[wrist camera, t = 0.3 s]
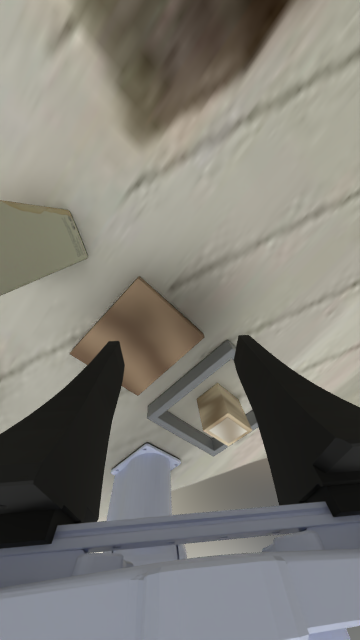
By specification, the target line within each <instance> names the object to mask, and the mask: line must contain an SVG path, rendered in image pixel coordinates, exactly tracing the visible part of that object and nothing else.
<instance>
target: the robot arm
mask: <svg viewBox="0 0 360 640" xmlns="http://www.w3.org/2000/svg"><path fill="white" fill-rule="evenodd" d="M234 363H235V366H236V370H237V373H238V376H239V379H240V381H241V383H242V386H243V388H244V391H245V393H246V395H247V397H248V400H249V402H250V404H251V407H252V409H253V412H254V415H255V417H256V421H257V424H258V427H259V430H260V433H261V437H262V440H263V444H264V447H265V450H266V454H267V458H268V461H269V465H270V469H271V473H272V477H273V481H274V485H275V489H276V493H277V498H278V502H279V506H269V507H258V508H247V509H235V510H225V511H213V512H203V513H191V514H180V515H172V501H171V474H170V471H171V470H172V469H174V468H175V467H177V466H178V465H180V464H181V460H179V459H177V458H175V457H173V456H171V455H170V454H168V453H166V452H164V451H162V450H160V449H158V448H156V447H154V446H152V445H150V444H145V445H143V446H142V447H141V448H140V449H138V450H137V451H136V452H134V453H133V454H132V455H130V456H129V457H128V458H127V459H125V460H124V461H123V462H121V463H120V464H119V465H117V466H116V467H115V468H114V469H112V470H111V474H112V475H115V478H114V483H113V489H112V494H111V499H110V504H109V510H108V515H107V521H102V522H97V521H98V518H99V508H100V499H101V491H102V483H103V475H104V468H105V461H106V454H107V447H108V441H109V435H110V429H111V424H112V420H113V415H114V412H115V408H116V404H117V401H118V397H119V393H120V390H121V386H122V382H123V376H124V368H125V364H124V359H123V355H122V351H121V346H120V342H119V341H109V342H108V343H107V344H106V345H105V346H104V347H103V348H102V350H101V351H100V352H99V353H98V354H97V355H96V356H95V358H94V359H93V360H92V361H91V362H90V363H89V364H88V365H87V366H86V367H85V368H84V369H83V370H82V371H81V372H80V373H79V374H78V375H77V376H76V377H75V378H74V379H73V380H72V381H71V382H70V383H69V384H68V385H67V386H66V387H65V388H64V389H62V390H61V391H60V392H59V393H58V394H57V395H55V396H54V397H53V398H52V399H50V400H49V401H48V402H46V403H45V404H44V405H42V406H41V407H40V408H38V409H37V410H36V411H34V412H33V413H32V414H30V415H29V416H27V417H26V418H24V419H23V420H21V421H20V422H18V423H17V424H15V425H14V426H12V427H11V428H9V429H8V430H6V431H5V432H3V433H1V434H0V640H351V639H350V637H349V634H348V632H347V629H346V628H348V627H353V626H360V407H358V406H356V405H354V404H352V403H349V402H347V401H345V400H343V399H341V398H339V397H337V396H335V395H333V394H331V393H330V392H328V391H326V390H324V389H322V388H321V387H319V386H317V385H315V384H314V383H312V382H310V381H309V380H307V379H306V378H304V377H302V376H301V375H299V374H298V373H296V372H295V371H293V370H292V369H290V368H289V367H288V366H286V365H285V364H284V363H282V362H281V361H280V360H278V359H277V358H276V357H274V356H273V355H272V354H271V353H269V352H268V351H267V350H266V349H265V348H263V347H262V346H261V345H260V344H259V343H257V342H256V341H255V340H254V339H253V338H252V337H250V336H249V335H239V336H238V341H237V346H236V351H235V356H234ZM289 533H293V534H289ZM279 534H289V535H285V536H280V537H276V538H274V540H273V543H272V544H271V545H269V546H267V547H265V548H263V549H262V552H259V553H242V554H228V555H217V556H207V557H197V558H190V559H187V555H186V549H185V545H184V544H186V543H197V542H206V541H217V540H227V539H237V538H248V537H258V536H268V535H279ZM94 552H103V553H94Z"/></svg>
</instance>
